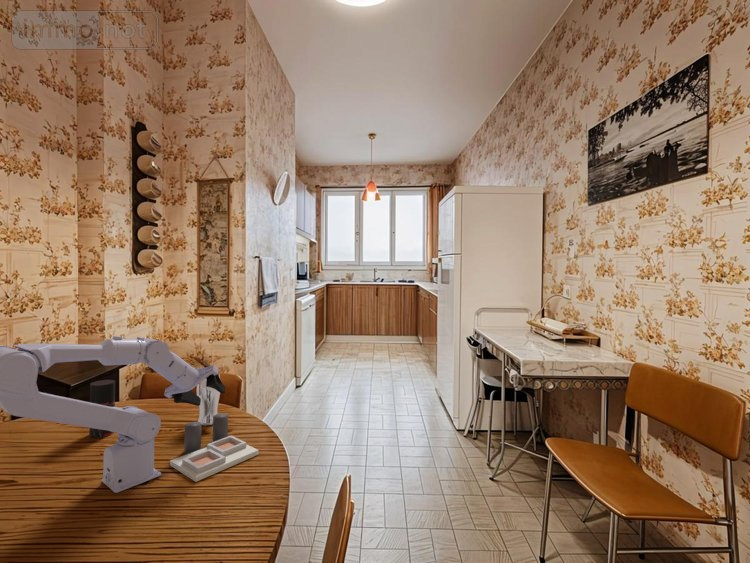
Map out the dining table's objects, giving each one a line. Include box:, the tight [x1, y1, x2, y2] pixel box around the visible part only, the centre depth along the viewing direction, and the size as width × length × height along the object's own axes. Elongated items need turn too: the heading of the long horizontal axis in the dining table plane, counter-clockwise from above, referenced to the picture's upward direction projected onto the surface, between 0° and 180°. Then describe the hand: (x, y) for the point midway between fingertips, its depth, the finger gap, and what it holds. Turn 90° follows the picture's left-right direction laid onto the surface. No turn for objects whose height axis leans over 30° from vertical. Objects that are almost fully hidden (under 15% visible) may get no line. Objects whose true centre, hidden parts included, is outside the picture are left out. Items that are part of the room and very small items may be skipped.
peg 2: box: [212, 412, 229, 442], centre depth 107 cm, size 4×4×7 cm
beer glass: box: [196, 372, 221, 427], centre depth 120 cm, size 7×7×15 cm
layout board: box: [169, 435, 260, 483], centre depth 96 cm, size 17×12×2 cm
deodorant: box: [88, 379, 116, 439], centre depth 109 cm, size 6×6×15 cm
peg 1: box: [183, 421, 202, 455], centre depth 101 cm, size 4×4×7 cm
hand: (211, 396), depth 104 cm, fingers open, 7 cm apart
